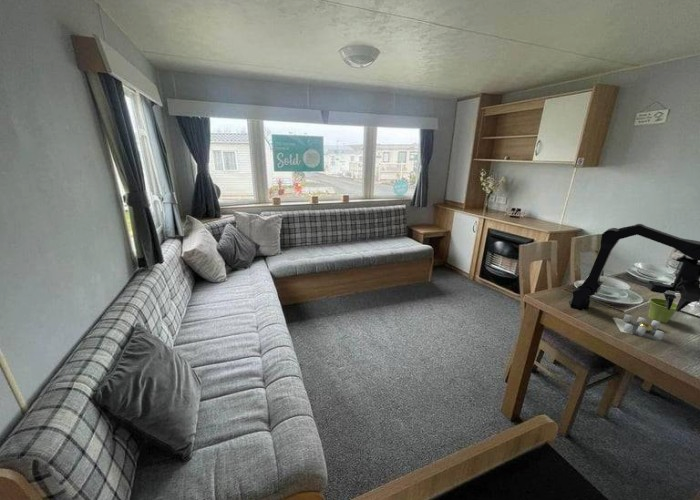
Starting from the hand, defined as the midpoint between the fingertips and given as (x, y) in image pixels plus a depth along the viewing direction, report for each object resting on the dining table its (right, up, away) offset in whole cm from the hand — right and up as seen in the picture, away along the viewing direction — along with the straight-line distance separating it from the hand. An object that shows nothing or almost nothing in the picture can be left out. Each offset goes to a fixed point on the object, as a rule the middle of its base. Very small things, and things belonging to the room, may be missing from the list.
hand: (672, 310), depth 116 cm
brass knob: (-5, -10, +6) cm, 13 cm away
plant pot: (+10, -8, +15) cm, 20 cm away
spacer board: (-7, -10, +7) cm, 14 cm away
